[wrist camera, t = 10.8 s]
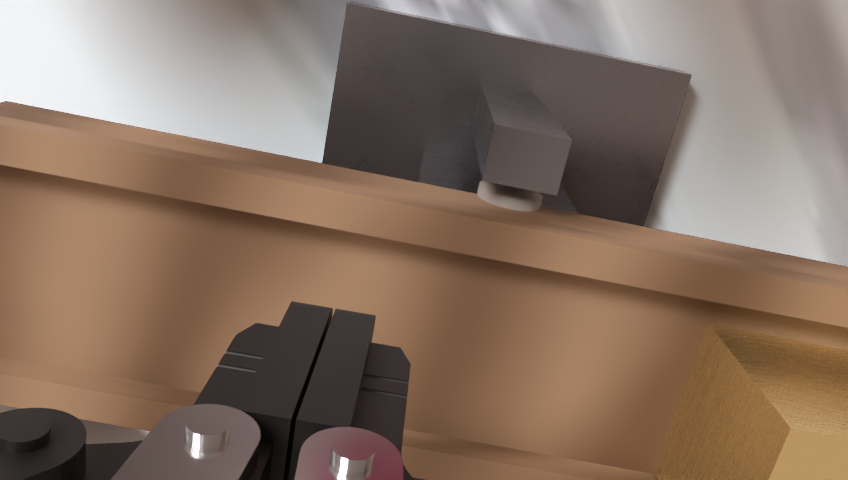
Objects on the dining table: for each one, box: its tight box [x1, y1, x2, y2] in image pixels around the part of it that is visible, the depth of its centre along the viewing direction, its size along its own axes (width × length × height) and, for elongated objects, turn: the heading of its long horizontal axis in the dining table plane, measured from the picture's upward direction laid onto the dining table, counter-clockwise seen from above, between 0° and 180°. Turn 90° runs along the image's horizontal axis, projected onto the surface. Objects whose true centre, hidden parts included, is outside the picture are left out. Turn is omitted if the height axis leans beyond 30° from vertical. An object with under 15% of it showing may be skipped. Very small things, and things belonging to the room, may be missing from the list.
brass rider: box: [654, 324, 848, 480], centre depth 19 cm, size 7×5×5 cm
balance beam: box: [0, 101, 848, 480], centre depth 22 cm, size 28×9×5 cm, turn 79°
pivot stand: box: [322, 2, 691, 480], centre depth 25 cm, size 12×16×8 cm
